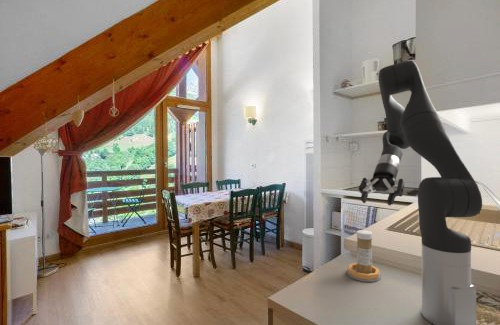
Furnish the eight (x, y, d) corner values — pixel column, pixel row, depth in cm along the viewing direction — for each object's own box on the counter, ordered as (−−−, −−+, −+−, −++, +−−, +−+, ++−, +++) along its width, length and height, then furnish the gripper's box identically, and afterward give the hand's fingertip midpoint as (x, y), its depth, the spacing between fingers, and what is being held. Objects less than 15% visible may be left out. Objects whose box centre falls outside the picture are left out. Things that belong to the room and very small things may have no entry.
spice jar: (361, 268, 88) (361, 228, 88) (374, 273, 85) (374, 231, 84) (354, 272, 85) (354, 231, 85) (367, 277, 82) (367, 234, 81)
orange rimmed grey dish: (388, 279, 81) (388, 273, 81) (360, 284, 79) (360, 277, 79) (366, 266, 91) (366, 261, 91) (340, 270, 89) (340, 264, 89)
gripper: (364, 162, 102) (352, 194, 94) (405, 161, 92) (395, 197, 84) (370, 175, 106) (358, 207, 98) (410, 175, 96) (401, 211, 88)
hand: (375, 202), depth 91 cm, fingers open, 8 cm apart
